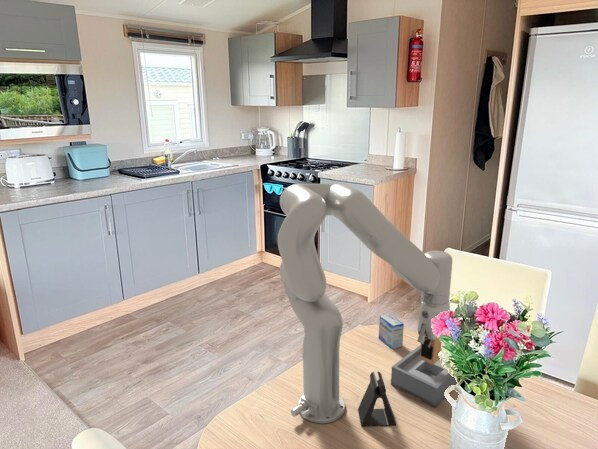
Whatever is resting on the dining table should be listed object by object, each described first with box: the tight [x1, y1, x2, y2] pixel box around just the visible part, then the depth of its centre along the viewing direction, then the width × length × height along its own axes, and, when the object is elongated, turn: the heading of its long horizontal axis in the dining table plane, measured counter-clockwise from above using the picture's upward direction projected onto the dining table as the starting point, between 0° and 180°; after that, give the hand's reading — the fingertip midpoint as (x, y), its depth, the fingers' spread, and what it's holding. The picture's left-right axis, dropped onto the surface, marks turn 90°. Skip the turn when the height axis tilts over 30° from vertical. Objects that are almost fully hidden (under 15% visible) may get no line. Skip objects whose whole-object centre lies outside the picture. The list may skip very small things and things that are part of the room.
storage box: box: [390, 344, 457, 408], centre depth 126 cm, size 18×14×6 cm
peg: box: [420, 333, 442, 365], centre depth 123 cm, size 4×4×10 cm
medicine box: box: [378, 313, 405, 350], centre depth 146 cm, size 8×4×9 cm, turn 25°
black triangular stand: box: [357, 371, 397, 428], centre depth 111 cm, size 9×6×12 cm, turn 90°
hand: (430, 353), depth 124 cm, fingers closed on peg, 4 cm apart
